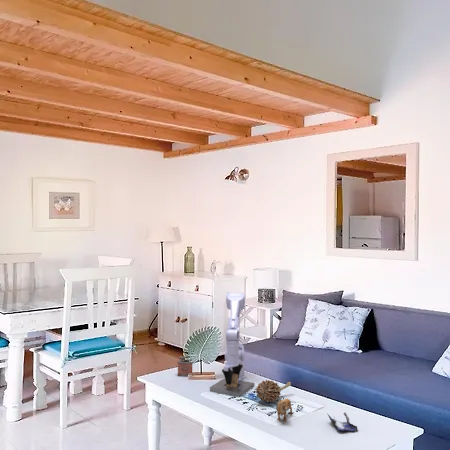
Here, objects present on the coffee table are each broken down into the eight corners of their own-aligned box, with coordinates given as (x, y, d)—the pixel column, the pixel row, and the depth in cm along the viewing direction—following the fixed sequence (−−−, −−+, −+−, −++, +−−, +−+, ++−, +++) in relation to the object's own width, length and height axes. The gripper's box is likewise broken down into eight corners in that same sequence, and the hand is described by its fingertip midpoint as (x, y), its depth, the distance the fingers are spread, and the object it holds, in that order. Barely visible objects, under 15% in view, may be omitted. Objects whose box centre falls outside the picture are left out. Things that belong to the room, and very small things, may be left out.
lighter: (193, 374, 257) (193, 356, 257) (192, 377, 253) (192, 357, 253) (178, 374, 258) (178, 355, 258) (176, 376, 254) (176, 357, 254)
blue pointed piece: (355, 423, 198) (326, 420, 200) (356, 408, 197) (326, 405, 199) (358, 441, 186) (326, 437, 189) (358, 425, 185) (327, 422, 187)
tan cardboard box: (228, 387, 238) (228, 373, 238) (237, 389, 236) (238, 374, 236) (225, 389, 236) (226, 374, 235) (235, 390, 233) (235, 376, 233)
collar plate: (225, 381, 246) (225, 377, 246) (254, 386, 239) (254, 382, 239) (209, 391, 232) (209, 387, 232) (239, 397, 225) (239, 392, 225)
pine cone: (267, 409, 211) (267, 386, 211) (250, 403, 217) (250, 381, 217) (297, 396, 227) (297, 374, 227) (280, 391, 233) (280, 370, 233)
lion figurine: (288, 425, 194) (288, 402, 194) (274, 423, 196) (274, 401, 196) (293, 411, 209) (293, 390, 208) (281, 410, 210) (281, 389, 210)
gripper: (232, 349, 244) (231, 376, 244) (218, 356, 231) (217, 385, 231) (244, 351, 240) (244, 378, 241) (231, 358, 228) (231, 387, 228)
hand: (232, 382), depth 236 cm, fingers open, 7 cm apart
